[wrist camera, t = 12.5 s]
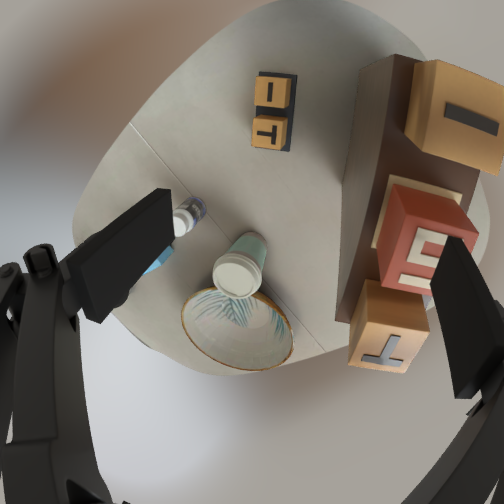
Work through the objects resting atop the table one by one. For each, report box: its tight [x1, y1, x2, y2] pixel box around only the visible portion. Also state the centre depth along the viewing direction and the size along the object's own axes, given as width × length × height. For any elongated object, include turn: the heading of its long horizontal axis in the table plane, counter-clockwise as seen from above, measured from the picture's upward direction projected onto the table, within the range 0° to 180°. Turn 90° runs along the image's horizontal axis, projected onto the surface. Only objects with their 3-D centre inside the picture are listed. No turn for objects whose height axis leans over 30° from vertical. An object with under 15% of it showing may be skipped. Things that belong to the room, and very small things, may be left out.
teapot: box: [143, 245, 173, 275], centre depth 64 cm, size 12×6×8 cm, turn 125°
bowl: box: [181, 286, 295, 371], centre depth 68 cm, size 25×25×8 cm
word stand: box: [335, 54, 504, 373], centre depth 29 cm, size 20×7×37 cm, turn 176°
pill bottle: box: [173, 197, 206, 237], centre depth 57 cm, size 5×5×8 cm
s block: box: [376, 184, 479, 296], centre depth 16 cm, size 4×4×5 cm
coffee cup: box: [213, 232, 267, 299], centre depth 56 cm, size 9×9×12 cm
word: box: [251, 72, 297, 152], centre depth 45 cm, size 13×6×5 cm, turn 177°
